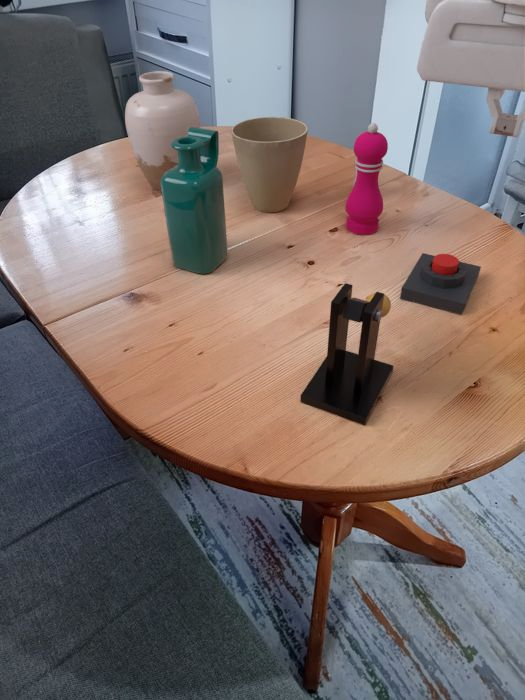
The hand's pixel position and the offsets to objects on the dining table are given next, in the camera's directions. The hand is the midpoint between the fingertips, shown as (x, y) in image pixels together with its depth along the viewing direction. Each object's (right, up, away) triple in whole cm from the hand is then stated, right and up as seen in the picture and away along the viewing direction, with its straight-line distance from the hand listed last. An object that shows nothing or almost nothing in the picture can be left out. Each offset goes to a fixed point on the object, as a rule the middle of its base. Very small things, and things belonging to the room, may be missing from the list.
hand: (504, 133), depth 57 cm
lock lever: (-13, -19, +13) cm, 26 cm away
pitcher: (-37, -7, +42) cm, 56 cm away
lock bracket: (-14, -28, +16) cm, 35 cm away
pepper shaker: (-4, +11, +60) cm, 61 cm away
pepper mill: (-6, +1, +49) cm, 50 cm away
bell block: (+4, -13, +33) cm, 35 cm away
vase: (-47, +16, +67) cm, 83 cm away
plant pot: (-24, +8, +58) cm, 63 cm away
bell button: (+4, -10, +30) cm, 32 cm away
